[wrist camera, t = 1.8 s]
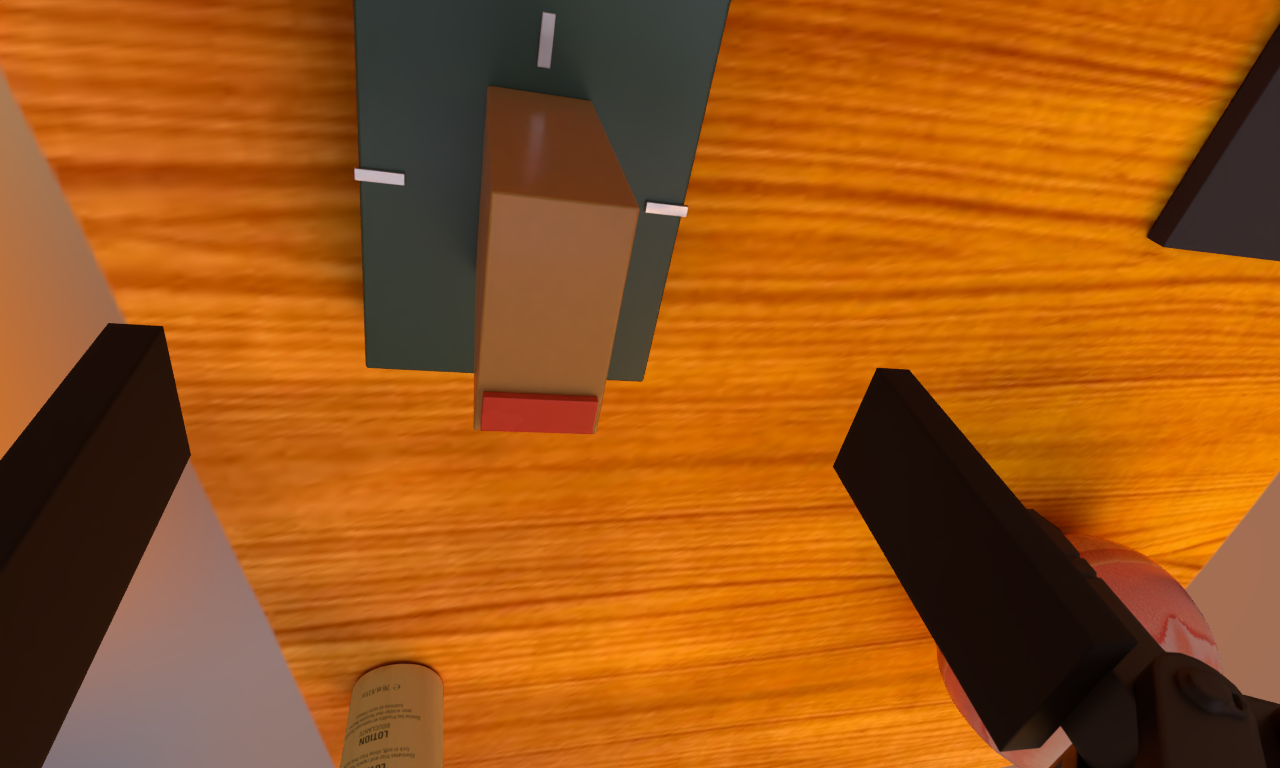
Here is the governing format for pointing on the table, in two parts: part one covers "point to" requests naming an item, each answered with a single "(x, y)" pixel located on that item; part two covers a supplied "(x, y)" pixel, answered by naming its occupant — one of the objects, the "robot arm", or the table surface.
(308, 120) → the table surface
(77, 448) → the robot arm
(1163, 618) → the vase
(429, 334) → the green rectangular block
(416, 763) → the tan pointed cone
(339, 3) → the table surface
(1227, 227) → the mat
